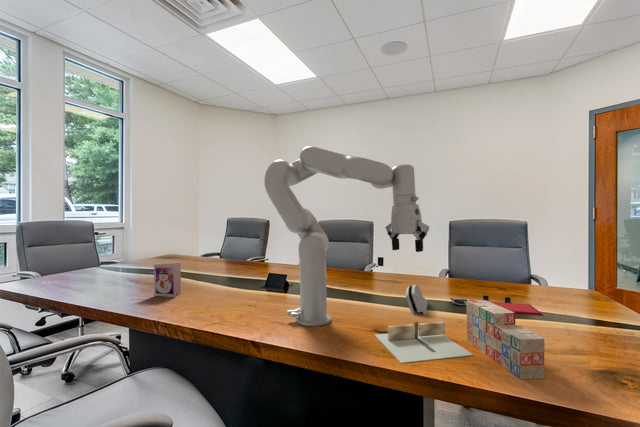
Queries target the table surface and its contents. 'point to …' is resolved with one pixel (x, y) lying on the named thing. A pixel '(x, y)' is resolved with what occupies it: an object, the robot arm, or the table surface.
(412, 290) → the grey piece
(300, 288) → the robot arm
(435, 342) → the card
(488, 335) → the stack of blocks
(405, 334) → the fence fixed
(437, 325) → the panel
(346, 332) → the table surface
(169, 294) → the greeting card
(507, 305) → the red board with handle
